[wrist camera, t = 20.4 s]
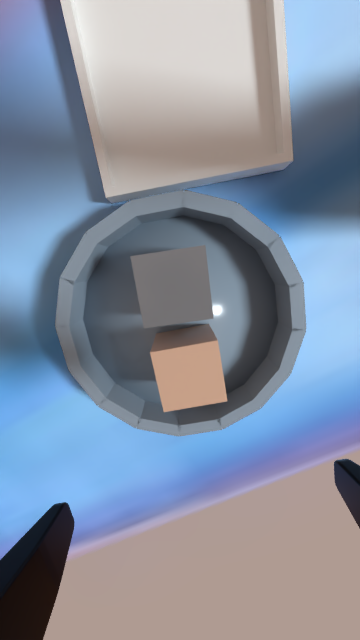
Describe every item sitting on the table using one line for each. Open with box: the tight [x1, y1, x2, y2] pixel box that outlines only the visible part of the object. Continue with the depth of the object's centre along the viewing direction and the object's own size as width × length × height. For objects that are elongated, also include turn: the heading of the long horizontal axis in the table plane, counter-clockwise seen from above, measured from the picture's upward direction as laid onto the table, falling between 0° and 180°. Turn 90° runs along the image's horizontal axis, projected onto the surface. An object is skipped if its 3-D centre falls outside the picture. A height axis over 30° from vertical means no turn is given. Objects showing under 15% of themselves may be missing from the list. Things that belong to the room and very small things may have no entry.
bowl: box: [55, 190, 306, 436], centre depth 18 cm, size 18×18×3 cm
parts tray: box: [60, 0, 293, 203], centre depth 14 cm, size 13×19×2 cm
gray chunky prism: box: [130, 245, 214, 328], centre depth 16 cm, size 4×4×4 cm
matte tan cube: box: [150, 324, 227, 412], centre depth 18 cm, size 4×4×4 cm
